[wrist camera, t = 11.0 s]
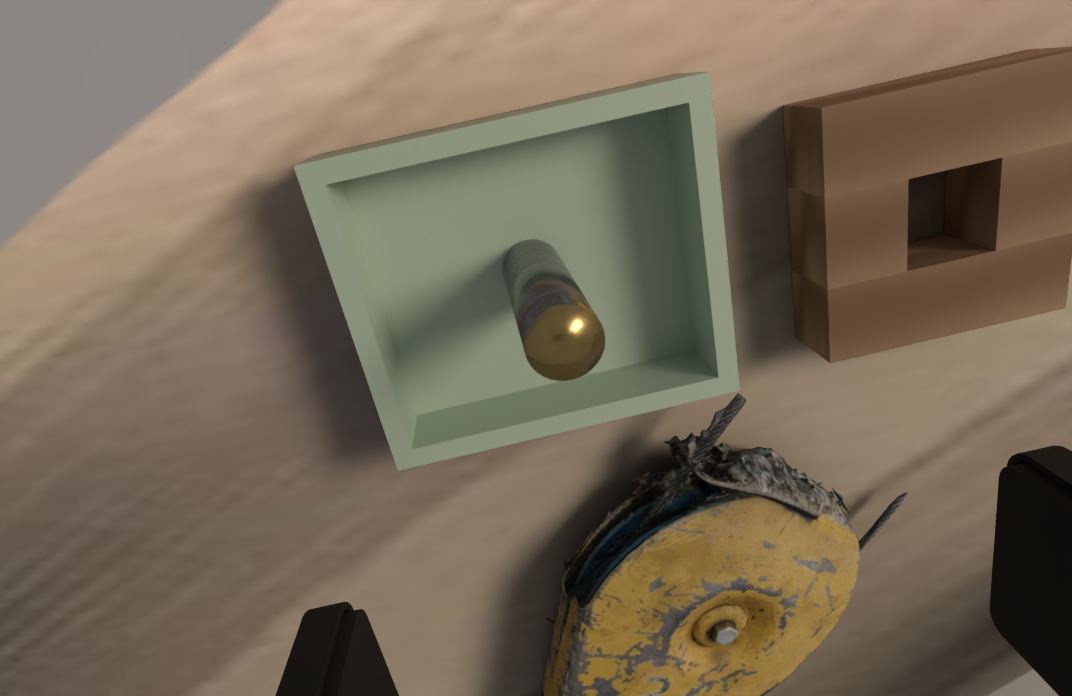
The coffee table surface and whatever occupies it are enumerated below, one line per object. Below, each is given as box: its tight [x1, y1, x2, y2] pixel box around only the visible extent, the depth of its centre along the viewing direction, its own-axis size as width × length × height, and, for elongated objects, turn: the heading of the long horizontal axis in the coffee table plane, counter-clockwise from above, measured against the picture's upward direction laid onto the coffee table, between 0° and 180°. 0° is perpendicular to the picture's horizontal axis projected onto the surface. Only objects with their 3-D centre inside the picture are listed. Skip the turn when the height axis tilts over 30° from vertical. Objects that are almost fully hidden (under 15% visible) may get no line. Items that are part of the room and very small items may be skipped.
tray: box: [293, 72, 740, 471], centre depth 25 cm, size 12×14×4 cm
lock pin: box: [503, 239, 605, 381], centre depth 23 cm, size 2×2×8 cm
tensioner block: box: [783, 47, 1072, 363], centre depth 26 cm, size 10×10×3 cm
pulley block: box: [541, 393, 907, 696], centre depth 33 cm, size 14×6×30 cm
